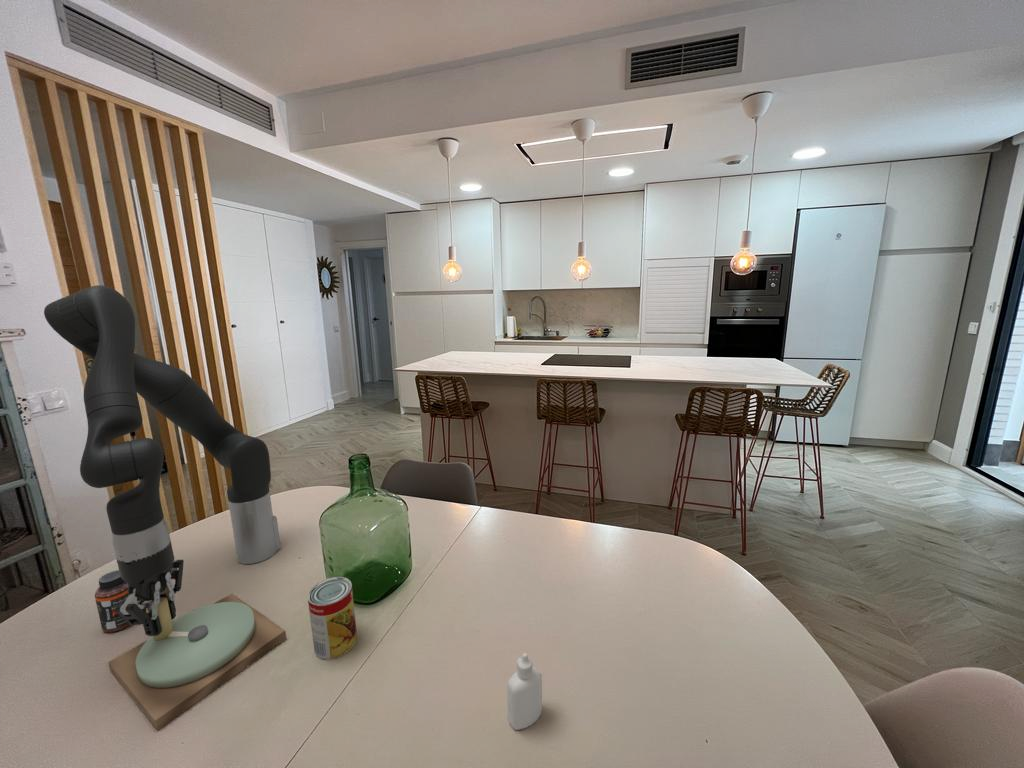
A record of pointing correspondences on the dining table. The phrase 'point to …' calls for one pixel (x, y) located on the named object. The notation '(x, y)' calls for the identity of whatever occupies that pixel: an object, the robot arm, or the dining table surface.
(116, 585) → the supplement bottle
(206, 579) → the dining table surface
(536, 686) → the eye dropper bottle
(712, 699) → the dining table surface
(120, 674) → the base board
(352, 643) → the canned food
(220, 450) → the robot arm
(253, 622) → the dial
